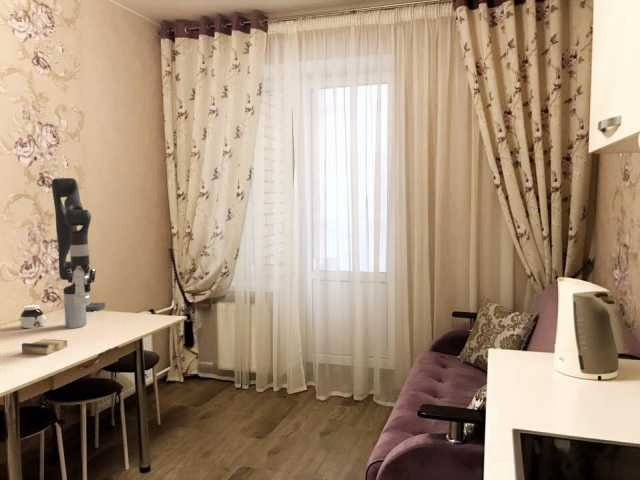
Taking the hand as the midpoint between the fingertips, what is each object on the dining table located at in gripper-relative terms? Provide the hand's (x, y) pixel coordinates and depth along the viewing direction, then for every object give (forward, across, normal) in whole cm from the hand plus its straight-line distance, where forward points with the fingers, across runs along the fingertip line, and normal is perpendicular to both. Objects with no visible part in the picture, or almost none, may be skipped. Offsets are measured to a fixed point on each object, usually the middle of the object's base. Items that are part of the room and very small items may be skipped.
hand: (81, 292), depth 223 cm
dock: (+23, +9, +13) cm, 28 cm away
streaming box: (+25, +41, -60) cm, 77 cm away
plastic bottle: (+7, 0, 0) cm, 7 cm away
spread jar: (+24, +46, -22) cm, 56 cm away
